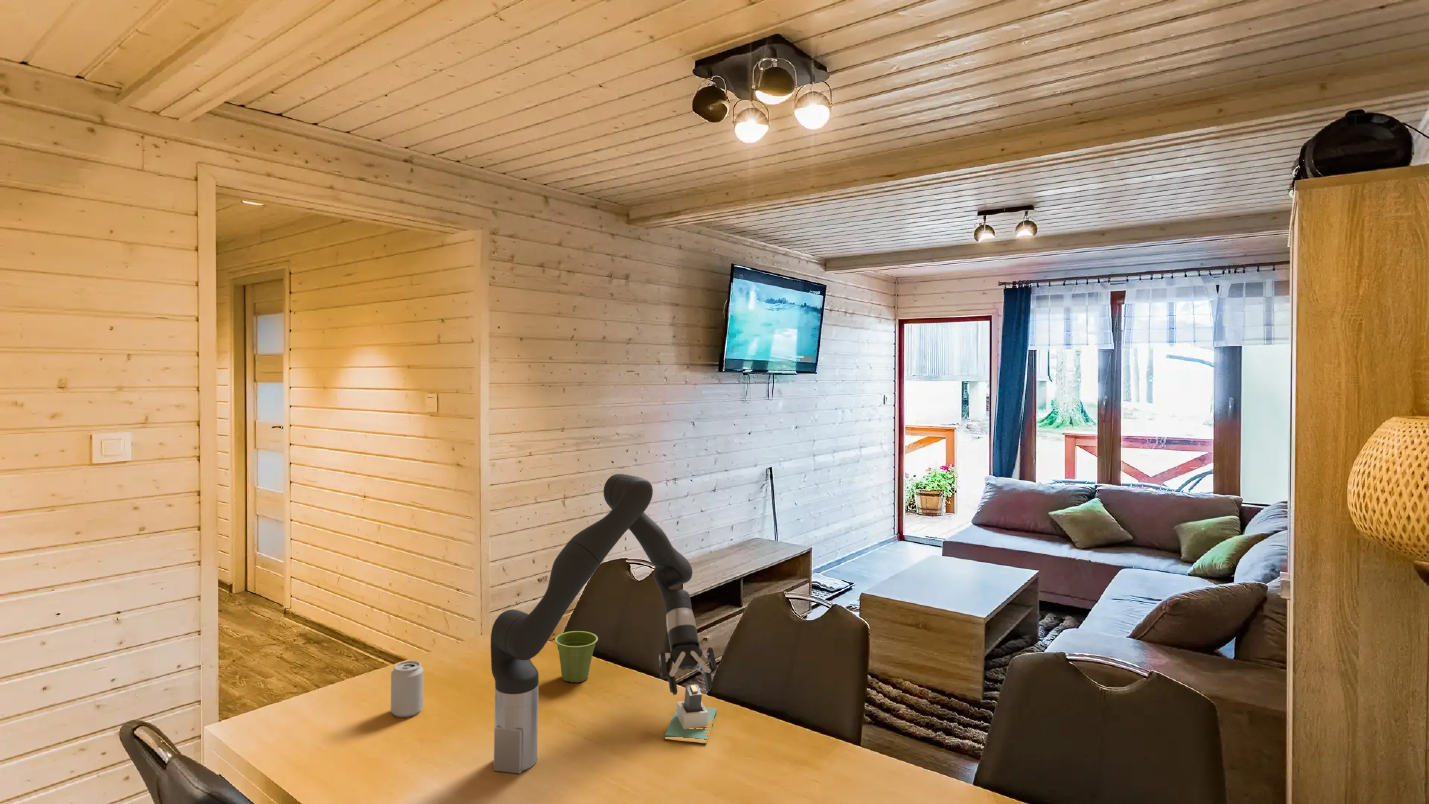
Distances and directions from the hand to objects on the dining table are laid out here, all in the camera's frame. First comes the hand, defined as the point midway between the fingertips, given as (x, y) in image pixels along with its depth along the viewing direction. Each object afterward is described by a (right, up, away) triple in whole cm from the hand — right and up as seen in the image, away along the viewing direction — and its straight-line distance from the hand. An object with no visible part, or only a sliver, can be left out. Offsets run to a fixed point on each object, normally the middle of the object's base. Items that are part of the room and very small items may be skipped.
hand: (692, 692), depth 179 cm
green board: (0, -8, 0) cm, 8 cm away
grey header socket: (0, -7, 0) cm, 7 cm away
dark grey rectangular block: (0, -7, +1) cm, 7 cm away
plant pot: (-34, -6, +25) cm, 43 cm away
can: (-71, -6, +3) cm, 72 cm away
